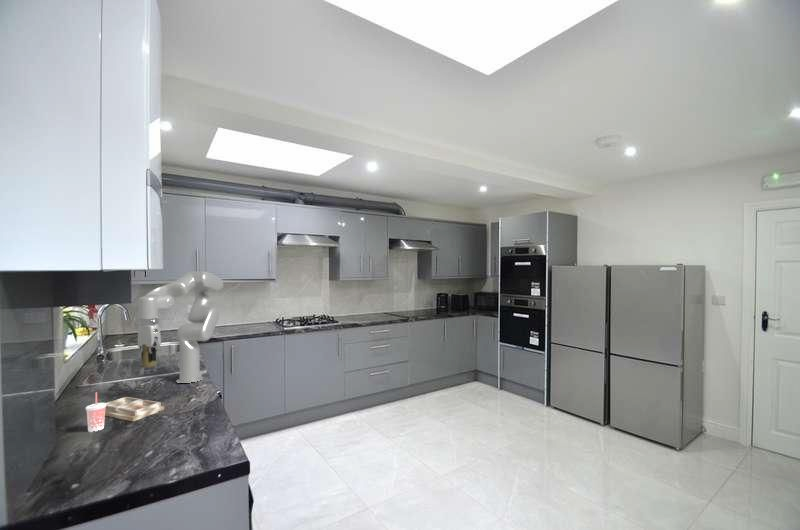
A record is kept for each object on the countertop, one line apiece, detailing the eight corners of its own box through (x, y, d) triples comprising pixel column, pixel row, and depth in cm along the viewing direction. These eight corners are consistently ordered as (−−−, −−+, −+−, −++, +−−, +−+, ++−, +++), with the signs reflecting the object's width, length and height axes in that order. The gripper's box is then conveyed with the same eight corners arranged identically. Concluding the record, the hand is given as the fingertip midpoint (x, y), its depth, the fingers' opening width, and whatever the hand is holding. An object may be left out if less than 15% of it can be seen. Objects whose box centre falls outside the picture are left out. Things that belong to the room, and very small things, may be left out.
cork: (148, 367, 165) (148, 343, 165) (137, 367, 166) (137, 343, 166) (159, 364, 171) (159, 341, 171) (149, 363, 172) (148, 340, 172)
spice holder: (127, 403, 163) (127, 395, 163) (164, 409, 155) (164, 401, 155) (95, 414, 151) (95, 405, 151) (132, 421, 143) (132, 412, 143)
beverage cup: (110, 427, 138) (110, 390, 138) (91, 433, 132) (91, 395, 132) (100, 424, 140) (100, 388, 140) (81, 431, 134) (81, 393, 135)
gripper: (168, 321, 170) (169, 360, 169) (144, 320, 175) (145, 357, 175) (152, 324, 162) (153, 364, 162) (128, 322, 168) (128, 361, 168)
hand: (148, 360), depth 169 cm, fingers closed on cork, 4 cm apart
